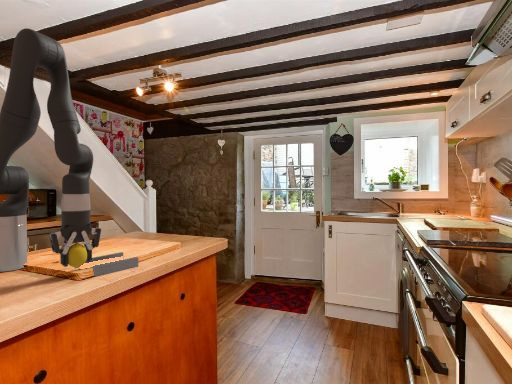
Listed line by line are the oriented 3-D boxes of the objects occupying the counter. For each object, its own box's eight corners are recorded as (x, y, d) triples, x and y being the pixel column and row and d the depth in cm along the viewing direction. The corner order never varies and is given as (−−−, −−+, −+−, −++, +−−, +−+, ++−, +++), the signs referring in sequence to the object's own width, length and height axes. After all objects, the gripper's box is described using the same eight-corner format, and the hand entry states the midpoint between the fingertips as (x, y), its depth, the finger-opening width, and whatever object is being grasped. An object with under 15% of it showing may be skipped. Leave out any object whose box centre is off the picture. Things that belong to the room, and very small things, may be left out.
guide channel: (79, 269, 94) (79, 260, 94) (121, 260, 105) (121, 252, 105) (94, 276, 87) (94, 266, 87) (138, 266, 98) (138, 257, 98)
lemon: (76, 265, 92) (76, 240, 92) (91, 266, 91) (91, 241, 91) (61, 270, 87) (61, 244, 86) (77, 272, 86) (77, 245, 85)
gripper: (95, 206, 96) (95, 257, 97) (43, 209, 85) (44, 266, 85) (106, 208, 91) (106, 261, 92) (53, 211, 80) (53, 272, 81)
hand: (76, 263), depth 89 cm, fingers closed on lemon, 5 cm apart
